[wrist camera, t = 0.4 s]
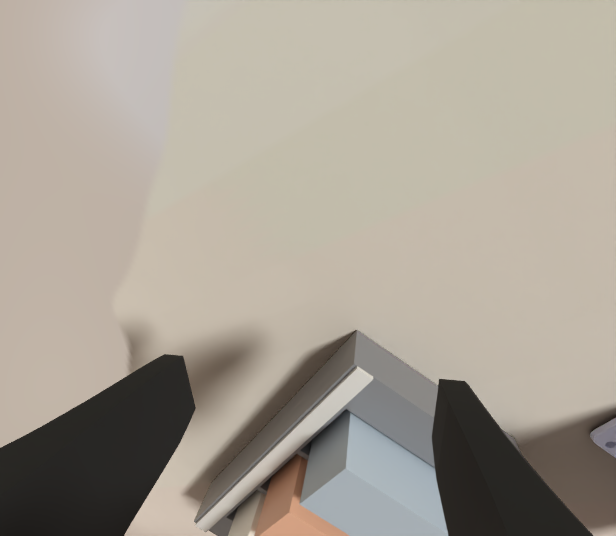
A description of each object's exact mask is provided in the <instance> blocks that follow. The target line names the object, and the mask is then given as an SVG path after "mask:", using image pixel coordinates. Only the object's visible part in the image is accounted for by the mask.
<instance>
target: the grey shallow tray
mask: <svg viewBox="0 0 616 536" xmlns="http://www.w3.org/2000/svg"><path fill="white" fill-rule="evenodd" d="M437 393H438V385H436V384H435V383H433V382H432V381H430V380H429V379H427V378H426V377H425V376H423V375H422V374H420V373H419V372H417V371H416V370H414V369H413V368H411V367H410V366H409V365H407V364H406V363H404V362H403V361H401V360H400V359H398V358H397V357H396V356H394V355H393V354H391V353H390V352H388V351H387V350H385V349H384V348H382V347H381V346H380V345H378V344H377V343H375V342H374V341H372V340H371V339H369V338H368V337H366V336H365V335H364V334H362V333H361V332H359V331H358V330H356V332H355V333H354V334H353V335H352V336H351V337H350V338H349V339H348V340H347V341H346V342H345V343H344V344H343V345H342V346H341V347H340V348H339V349H338V350H337V351H336V353H335V354H334V355H333V356H332V357H331V358H330V359H329V360H328V361H327V362H326V363H325V364H324V365H323V366H322V367H321V368H320V369H319V370H318V371H317V372H316V374H315V375H314V376H313V377H312V378H311V379H310V380H309V381H308V382H307V383H306V384H305V385H304V386H303V387H302V388H301V389H300V390H299V391H298V392H297V393H296V395H295V396H294V397H293V398H292V399H291V400H290V401H289V402H288V403H287V404H286V405H285V406H284V407H283V408H282V409H281V410H280V411H279V412H278V413H277V414H276V416H275V417H274V418H273V419H272V420H271V421H270V422H269V423H268V424H267V425H266V426H265V427H264V428H263V429H262V430H261V431H260V432H259V433H258V434H257V435H256V436H255V438H254V439H253V440H252V441H251V442H250V443H249V444H248V445H247V446H246V447H245V448H244V449H243V450H242V451H241V452H240V453H239V454H238V455H237V456H236V457H235V459H234V460H233V461H232V462H231V463H230V464H229V465H228V466H227V467H226V468H225V469H224V470H223V471H222V472H221V473H220V474H219V475H218V476H217V477H216V478H215V480H214V481H213V482H212V483H211V485H210V487H209V489H208V491H207V494H206V496H205V498H204V500H203V502H202V505H201V507H200V509H199V511H198V513H197V516H196V518H195V520H194V522H195V523H196V524H195V526H196V527H198V528H199V529H201V530H203V531H204V532H207V531H208V530H209V531H211V532H212V533H214V534H216V535H217V536H228V534H229V531H230V528H231V526H232V523H233V520H234V517H235V514H236V512H237V509H238V507H239V506H240V505H241V504H242V503H244V502H245V501H246V500H247V499H248V498H249V497H250V496H251V495H252V494H254V493H255V492H256V491H257V490H258V491H260V492H261V493H263V494H264V495H266V494H267V491H268V488H269V484H270V481H271V477H272V476H273V475H275V474H276V473H277V472H278V471H279V470H280V469H281V468H282V467H283V466H285V465H286V464H287V463H288V462H289V461H290V460H291V458H292V457H293V456H294V455H296V454H298V455H300V456H301V457H303V458H304V459H306V460H307V461H308V459H309V454H310V449H311V444H312V440H313V439H314V438H316V437H317V436H318V435H319V434H320V433H321V432H322V431H323V430H324V429H326V428H327V427H328V426H329V425H330V423H331V422H332V421H333V420H334V419H335V418H336V417H338V416H339V415H340V414H341V413H342V412H343V411H344V410H345V409H347V410H349V411H350V412H352V413H353V414H355V415H356V416H358V417H359V418H361V419H362V420H364V421H365V422H367V423H368V424H370V425H371V426H373V427H374V428H376V429H377V430H379V431H380V432H382V433H383V434H385V435H386V436H388V437H389V438H391V439H392V440H394V441H395V442H397V443H398V444H400V445H401V446H403V447H404V448H406V449H407V450H409V451H410V452H412V453H413V454H415V455H416V456H418V457H420V458H421V459H423V460H424V461H426V462H427V463H429V464H430V465H432V466H433V467H435V464H434V455H433V446H432V430H433V423H434V415H435V408H436V400H437ZM502 431H503V430H502ZM503 432H504V431H503ZM504 433H505V434H506V436H507V437H508V438H509V440H510V441H511V442H512V443H513V444H514V446H515V447H516V448H517V449H518V451H519V452H520V450H519V447H518V445H517V443H516V440H515V439H514V438H513V437H512V436H510V435H509V434H507V433H506V432H504ZM520 453H521V452H520Z"/></svg>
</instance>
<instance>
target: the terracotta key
mask: <svg viewBox="0 0 616 536" xmlns="http://www.w3.org/2000/svg"><path fill="white" fill-rule="evenodd" d="M307 464H308V461H307V460H306V459H304V458H303V457H301V456H300V455H298V454H297V455H296V456H295V457H293V458H292V459H291V460H290V461H289V462H288V463H287V464H286V465H285V466H283V467H282V468H281V469H280V470H279V471H278V472H277V473H276V474H275V475H273V476H272V477H271V481H270V484H269V488H268V491H267V494H266V498H265V501H264V505H263V508H262V511H261V515H260V518H259V522H258V525H257V529H256V532H255V535H254V536H349V535H348V534H346V533H345V532H343V531H341V530H340V529H338V528H337V527H335V526H333V525H332V524H330V523H328V522H327V521H325V520H324V519H322V518H320V517H319V516H317V515H316V514H314V513H312V512H311V511H309V510H308V509H306V508H304V507H303V506H301V505H300V499H301V494H302V489H303V484H304V479H305V474H306V469H307Z"/></svg>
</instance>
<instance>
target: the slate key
mask: <svg viewBox="0 0 616 536" xmlns="http://www.w3.org/2000/svg"><path fill="white" fill-rule="evenodd" d="M300 505H301V506H303V507H304V508H306V509H308V510H309V511H311V512H312V513H314V514H316V515H317V516H319V517H320V518H322V519H324V520H325V521H327V522H328V523H330V524H332V525H333V526H335V527H337V528H338V529H340V530H341V531H343V532H345V533H346V534H348V535H349V536H448V531H447V527H446V522H445V517H444V513H443V508H442V504H441V499H440V494H439V490H438V485H437V480H436V472H435V467H433V466H432V465H430V464H429V463H427V462H426V461H424V460H423V459H421V458H420V457H418V456H416V455H415V454H413V453H412V452H410V451H409V450H407V449H406V448H404V447H403V446H401V445H400V444H398V443H397V442H395V441H394V440H392V439H391V438H389V437H388V436H386V435H385V434H383V433H382V432H380V431H379V430H377V429H376V428H374V427H373V426H371V425H370V424H368V423H367V422H365V421H364V420H362V419H361V418H359V417H358V416H356V415H355V414H353V413H352V412H350V411H349V410H346V411H344V412H343V413H342V414H341V415H340V416H339V417H338V418H337V419H336V420H334V421H333V422H332V423H331V424H330V425H329V426H328V427H327V428H326V429H324V430H323V431H322V432H321V433H320V434H319V435H318V436H317V437H316V438H314V439H313V440H312V444H311V449H310V454H309V459H308V464H307V469H306V474H305V479H304V484H303V489H302V494H301V499H300Z"/></svg>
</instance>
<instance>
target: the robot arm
mask: <svg viewBox="0 0 616 536" xmlns="http://www.w3.org/2000/svg"><path fill="white" fill-rule="evenodd" d="M194 411H195V404H194V400H193V396H192V391H191V387H190V383H189V379H188V375H187V370H186V366H185V362H184V358H183V356H177V355H166V354H165V355H163V356H161V357H159V358H157V359H155V360H153V361H152V362H150V363H148V364H146V365H145V366H143V367H141V368H140V369H138V370H136V371H135V372H133V373H132V374H130V375H128V376H127V377H125V378H123V379H122V380H120V381H119V382H117V383H115V384H114V385H112V386H110V387H109V388H107V389H105V390H104V391H102V392H100V393H99V394H97V395H95V396H94V397H92V398H90V399H89V400H87V401H85V402H84V403H82V404H80V405H78V406H77V407H75V408H73V409H71V410H70V411H68V412H66V413H65V414H63V415H61V416H59V417H57V418H56V419H54V420H52V421H50V422H49V423H47V424H45V425H43V426H42V427H40V428H38V429H36V430H34V431H33V432H31V433H29V434H27V435H25V436H23V437H21V438H19V439H17V440H15V441H13V442H11V443H9V444H7V445H5V446H3V447H2V448H0V536H124V534H125V533H126V531H127V529H128V527H129V526H130V524H131V522H132V521H133V519H134V517H135V516H136V514H137V512H138V511H139V509H140V508H141V506H142V504H143V503H144V501H145V499H146V498H147V496H148V494H149V493H150V491H151V490H152V488H153V486H154V485H155V483H156V481H157V480H158V478H159V477H160V475H161V473H162V472H163V470H164V468H165V467H166V465H167V463H168V462H169V460H170V458H171V457H172V455H173V453H174V452H175V450H176V448H177V447H178V445H179V443H180V441H181V439H182V437H183V435H184V433H185V431H186V429H187V427H188V424H189V422H190V420H191V418H192V415H193V413H194ZM590 437H591V439H592V440H593V442H594V443H595V444H596V445H598V446H599V447H601V448H602V449H603V450H605V451H606V452H608V453H609V454H611V455H612V456H613V457H615V458H616V418H614V419H612V420H611V421H609V422H607V423H605V424H604V425H602V426H600V427H598V428H596V429H595V430H593V431H592V432H591V434H590ZM432 446H433V455H434V464H435V472H436V480H437V485H438V490H439V494H440V499H441V504H442V508H443V513H444V517H445V522H446V527H447V531H448V536H593V535H592V534H591V533H590V532H589V531H588V530H587V528H586V527H585V526H584V525H583V524H582V523H581V522H580V521H579V520H578V519H577V518H576V517H575V515H574V514H573V513H572V512H571V511H570V510H569V509H568V508H567V507H566V506H565V504H564V503H563V502H562V501H561V500H560V499H559V498H558V497H557V495H556V494H555V493H554V492H553V491H552V490H551V489H550V488H549V486H548V485H547V484H546V483H545V482H544V481H543V479H542V478H541V477H540V476H539V475H538V474H537V472H536V471H535V470H534V469H533V468H532V467H531V465H530V464H529V463H528V462H527V460H526V459H525V458H524V457H523V455H522V454H521V453H520V452H519V451H518V449H517V448H516V447H515V446H514V444H513V443H512V442H511V441H510V440H509V438H508V437H507V436H506V434H505V433H504V432H503V431H502V429H501V428H500V427H499V425H498V424H497V423H496V422H495V420H494V419H493V418H492V416H491V415H490V414H489V412H488V411H487V410H486V408H485V407H484V406H483V404H482V403H481V401H480V400H479V399H478V397H477V396H476V395H475V393H474V392H473V390H472V389H471V388H470V386H469V385H468V384H467V383H466V382H465V381H457V380H445V379H439V385H438V393H437V400H436V408H435V415H434V423H433V430H432Z"/></svg>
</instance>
